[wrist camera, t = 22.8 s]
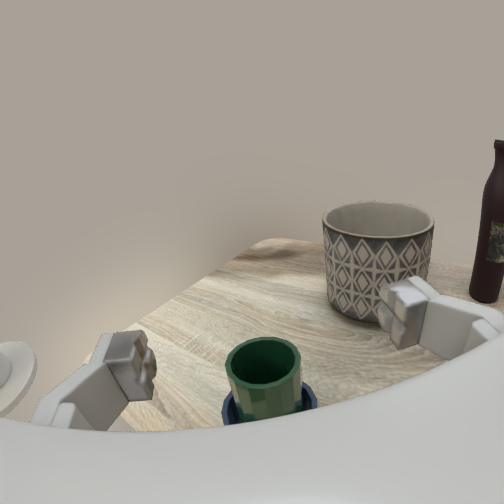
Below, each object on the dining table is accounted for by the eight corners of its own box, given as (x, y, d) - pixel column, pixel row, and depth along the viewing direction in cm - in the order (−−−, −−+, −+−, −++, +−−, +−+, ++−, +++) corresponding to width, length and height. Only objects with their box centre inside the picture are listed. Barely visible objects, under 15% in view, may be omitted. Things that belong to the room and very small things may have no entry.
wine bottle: (473, 304, 44) (493, 140, 32) (464, 285, 50) (477, 136, 38) (502, 303, 42) (525, 145, 30) (491, 285, 48) (507, 140, 36)
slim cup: (267, 462, 26) (252, 401, 22) (234, 425, 32) (212, 357, 27) (315, 429, 30) (316, 360, 25) (279, 398, 35) (270, 327, 30)
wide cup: (263, 483, 24) (257, 464, 22) (215, 426, 33) (205, 401, 30) (334, 433, 29) (337, 407, 27) (280, 388, 37) (277, 361, 35)
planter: (442, 313, 44) (457, 225, 38) (347, 344, 43) (351, 246, 37) (392, 268, 62) (395, 196, 55) (312, 285, 61) (307, 208, 54)
